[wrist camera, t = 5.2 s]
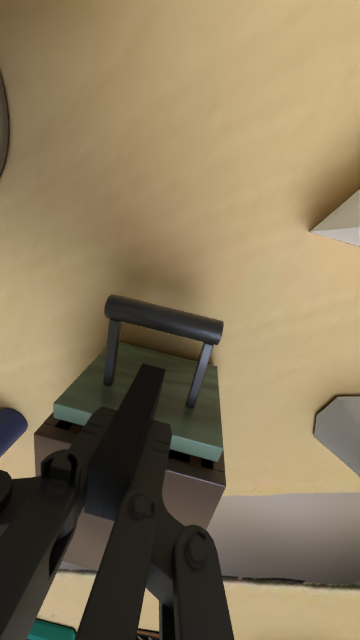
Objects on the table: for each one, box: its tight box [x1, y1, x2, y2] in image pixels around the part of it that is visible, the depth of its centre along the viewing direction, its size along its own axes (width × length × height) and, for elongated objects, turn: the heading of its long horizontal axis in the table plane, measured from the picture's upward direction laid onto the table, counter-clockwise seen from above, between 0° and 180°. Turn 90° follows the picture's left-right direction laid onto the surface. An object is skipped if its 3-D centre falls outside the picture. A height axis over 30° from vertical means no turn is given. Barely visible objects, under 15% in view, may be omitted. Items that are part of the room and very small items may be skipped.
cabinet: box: [34, 412, 226, 571], centre depth 20 cm, size 14×12×11 cm
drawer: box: [54, 294, 224, 466], centre depth 18 cm, size 19×10×9 cm, turn 168°
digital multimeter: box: [26, 619, 76, 640], centre depth 50 cm, size 7×15×3 cm, turn 83°
